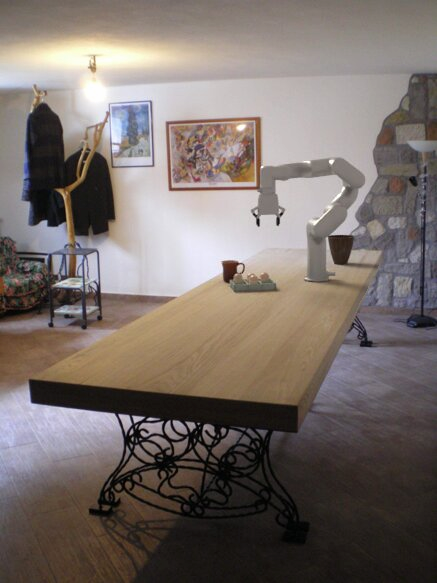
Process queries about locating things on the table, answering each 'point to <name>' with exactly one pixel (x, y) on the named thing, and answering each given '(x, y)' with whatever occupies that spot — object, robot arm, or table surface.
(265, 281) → the carton
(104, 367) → the table surface
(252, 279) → the egg
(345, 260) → the plant pot
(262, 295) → the table surface
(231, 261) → the mug
